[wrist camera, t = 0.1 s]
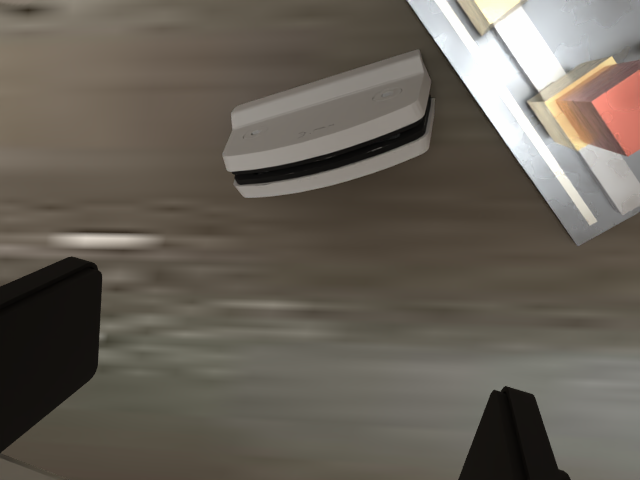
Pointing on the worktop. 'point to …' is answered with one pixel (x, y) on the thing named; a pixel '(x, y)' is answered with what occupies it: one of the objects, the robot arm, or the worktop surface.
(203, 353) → the worktop surface
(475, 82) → the gauge plate
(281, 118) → the grey stapler
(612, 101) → the block
